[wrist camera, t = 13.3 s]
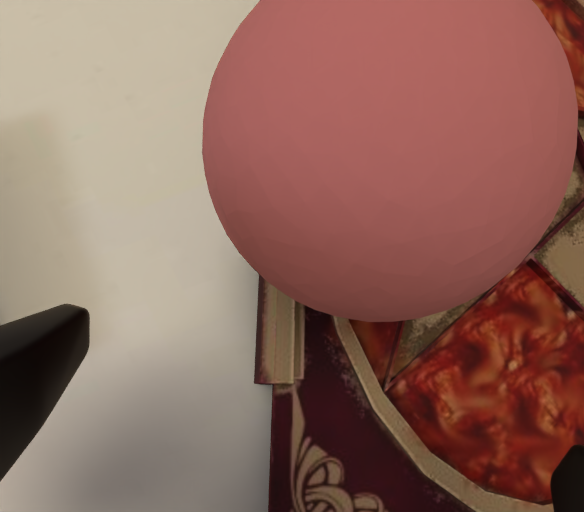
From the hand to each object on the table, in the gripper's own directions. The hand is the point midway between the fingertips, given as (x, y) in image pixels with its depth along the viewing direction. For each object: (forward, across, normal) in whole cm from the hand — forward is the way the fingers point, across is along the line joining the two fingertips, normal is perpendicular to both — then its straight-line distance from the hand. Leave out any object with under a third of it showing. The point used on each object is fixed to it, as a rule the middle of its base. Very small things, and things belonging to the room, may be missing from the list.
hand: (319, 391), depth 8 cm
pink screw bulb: (+10, 0, +2) cm, 10 cm away
